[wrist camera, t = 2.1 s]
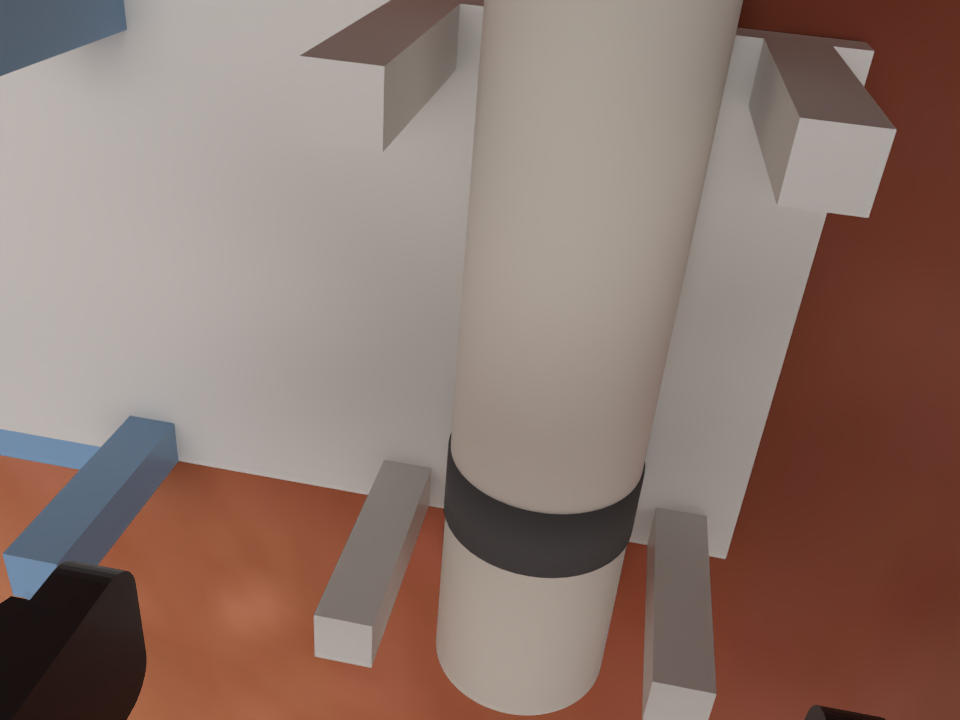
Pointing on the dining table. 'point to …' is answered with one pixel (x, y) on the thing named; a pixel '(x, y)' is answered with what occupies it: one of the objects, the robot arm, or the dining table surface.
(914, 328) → the dining table surface
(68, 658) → the robot arm
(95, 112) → the white pegged rack
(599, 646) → the banded cream tube
